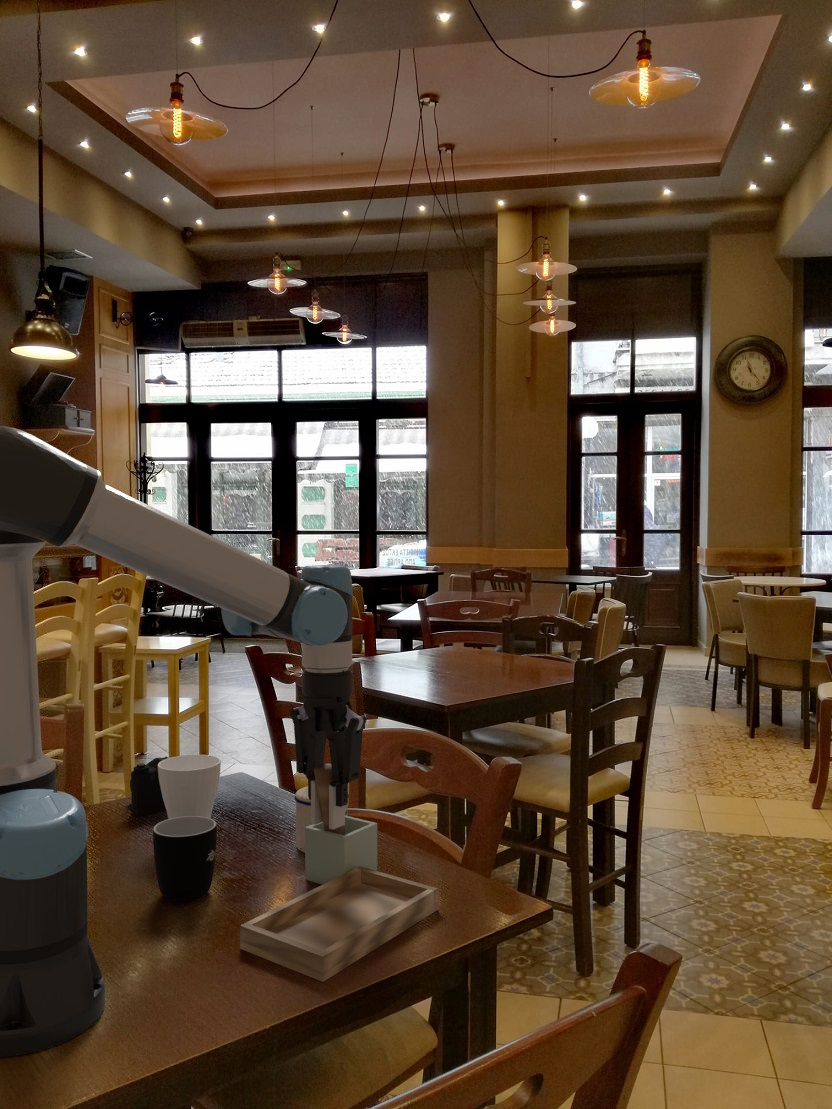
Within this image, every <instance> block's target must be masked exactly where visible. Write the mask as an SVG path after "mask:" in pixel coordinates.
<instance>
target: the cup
mask: <svg viewBox="0 0 832 1109" xmlns="http://www.w3.org/2000/svg"><path fill="white" fill-rule="evenodd" d="M221 763H222V761H221V759H220V758H219V757H217V756H214V755H209V754H185V755H184V754H183V755H179V756H178V755H177V756H172V757H168V759H165V760H162V761H161V762H159V764H158V775H159V782H160V787H161V792H162V797H163V800H164V804H165V807H166V810H167V811H166V814H167V818H168V819H172V818H176V817H184V816H201V817H207V818H210V819H212V814H213V809H214V804H215V802H216V797H217V794H218V793H217V792H218V787H219V782H220V778H221V765H222V764H221ZM168 819H167V820H168Z"/></svg>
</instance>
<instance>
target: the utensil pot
mask: <svg viewBox="0 0 832 1109" xmlns="http://www.w3.org/2000/svg"><path fill="white" fill-rule="evenodd" d="M344 828H345V834H346V835H340V834H336V833H333V832H329V831H325V830H324V825H323V822H321V823H318V824H316V825H313V824H312V825H310V826H307V827H305V853H304V854H305V855H304V857H305V858H304V859H305V860H304V863H305V864H304V868H305V873H304V874H305V877H304V878H305V880H306V881H310V882H313V883H316V884H319V885H323V884H325V883H327V882H329V881H331V880H333V879H335V878H337V877H339V876H341V875H343V874H345V873H347V872H349V871H352V870H354V869H356V868H358V867H360V866H361V867H365V868H368V869H372V870H375V871H378V822H374V821H369V820H365V819H361V818H356V817H353V816H349V815H348V816H346V815H345V825H344Z"/></svg>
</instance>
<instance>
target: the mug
mask: <svg viewBox="0 0 832 1109" xmlns="http://www.w3.org/2000/svg"><path fill="white" fill-rule="evenodd" d="M217 826H218V825H217V822H216V821H215V820H214V819H212V818H211V819H210V818H207V817H201V816H184V817H176V818H172V819H165V820H163V821H160V822H158V823H157V824H155V825H154V827H153V830H152V844H153V855H154V866H155V867H154V868H155V873H156V874H155V875H156V881H157V884H158V888H159V891H160V894H161V896H162V898H163V899H164V900H165V901H167V902H169V903H175V904H186V903H187V904H188V903H193V902H196V901H199V900H201V899H203V898H204V897H206V896H207V895H208V893H209V891H210V890H211V885H212V883H213V877H214V871H215V864H216V853H217V839H218V838H217V836H218V835H217V834H218V833H217V832H218V831H217V830H218V828H217Z"/></svg>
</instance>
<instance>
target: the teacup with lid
mask: <svg viewBox="0 0 832 1109" xmlns="http://www.w3.org/2000/svg"><path fill="white" fill-rule="evenodd" d="M349 797H350V794H349V793H348V799H349ZM294 801H295V841H296V842H295V846H296V849H297V850H299V851H300V852H302V853H304V854H305V827H307V826H310V825H312V824H311V800H309V797H308V785H307V786H305V787H301V788H300V789H298V790H297V791H296V792H295V795H294ZM348 808H349V807H348V804H347V805H345V815H346V816H349V815H348V813H349V812H348Z"/></svg>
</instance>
